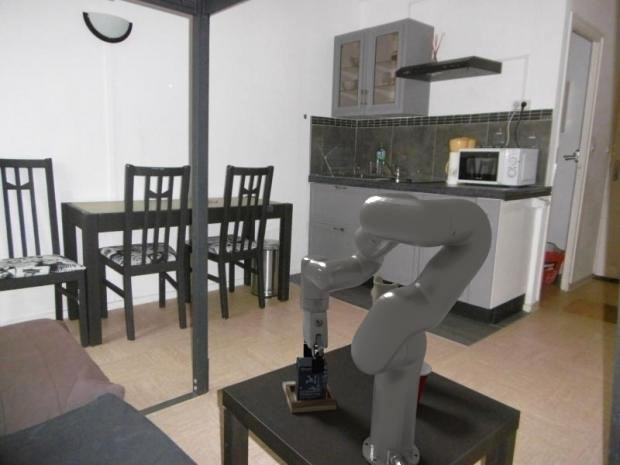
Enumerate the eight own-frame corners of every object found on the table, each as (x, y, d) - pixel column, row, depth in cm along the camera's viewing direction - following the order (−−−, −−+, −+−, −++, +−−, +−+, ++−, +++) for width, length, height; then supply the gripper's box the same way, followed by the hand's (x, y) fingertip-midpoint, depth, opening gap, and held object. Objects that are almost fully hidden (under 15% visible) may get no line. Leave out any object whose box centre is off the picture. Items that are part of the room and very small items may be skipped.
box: (297, 403, 118) (298, 366, 116) (294, 392, 124) (296, 356, 122) (326, 402, 119) (328, 365, 118) (322, 391, 125) (324, 355, 123)
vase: (361, 366, 144) (368, 275, 139) (384, 362, 147) (391, 273, 142) (375, 378, 136) (382, 282, 131) (399, 374, 139) (407, 280, 134)
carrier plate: (336, 409, 118) (336, 394, 118) (291, 412, 116) (291, 398, 115) (322, 382, 132) (323, 369, 132) (282, 385, 130) (282, 372, 129)
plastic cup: (429, 418, 116) (433, 375, 114) (387, 412, 118) (390, 369, 116) (427, 397, 126) (431, 357, 124) (388, 392, 128) (391, 352, 126)
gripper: (337, 312, 110) (335, 378, 112) (320, 293, 127) (318, 351, 129) (307, 313, 108) (306, 380, 111) (294, 294, 125) (293, 352, 127)
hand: (313, 364), depth 120 cm, fingers open, 9 cm apart
